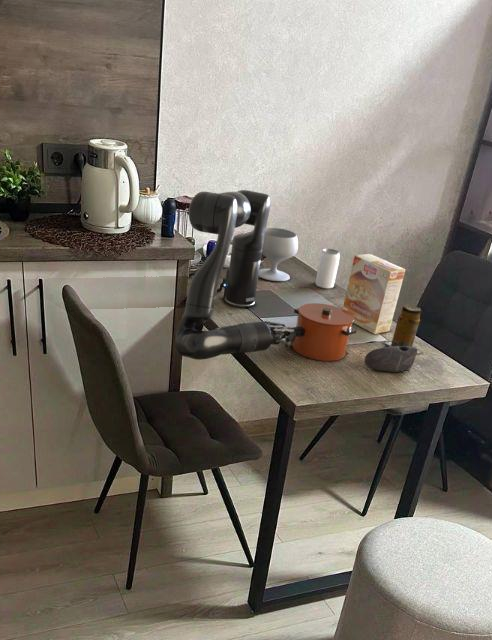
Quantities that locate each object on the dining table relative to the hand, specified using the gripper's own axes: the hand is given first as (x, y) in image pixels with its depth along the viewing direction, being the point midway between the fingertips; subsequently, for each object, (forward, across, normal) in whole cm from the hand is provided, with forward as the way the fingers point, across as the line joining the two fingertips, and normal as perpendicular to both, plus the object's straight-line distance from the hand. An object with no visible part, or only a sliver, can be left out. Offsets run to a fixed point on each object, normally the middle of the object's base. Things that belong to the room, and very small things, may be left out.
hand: (302, 331), depth 196 cm
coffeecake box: (+35, +13, +7) cm, 38 cm away
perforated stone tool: (+19, -16, +7) cm, 26 cm away
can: (+43, +46, +7) cm, 63 cm away
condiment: (+34, -5, +7) cm, 35 cm away
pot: (+8, +1, +7) cm, 10 cm away
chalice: (+30, +58, +7) cm, 65 cm away
